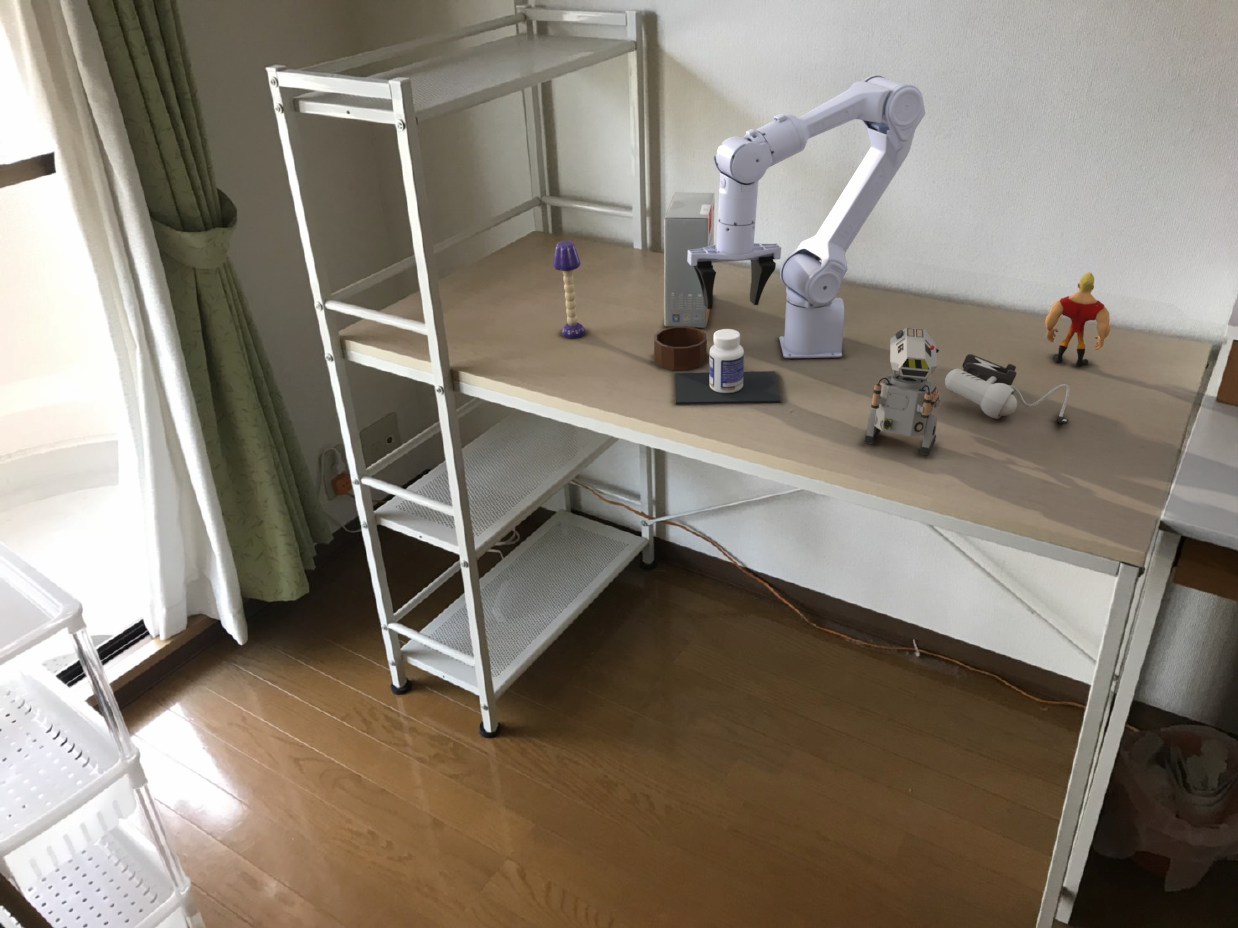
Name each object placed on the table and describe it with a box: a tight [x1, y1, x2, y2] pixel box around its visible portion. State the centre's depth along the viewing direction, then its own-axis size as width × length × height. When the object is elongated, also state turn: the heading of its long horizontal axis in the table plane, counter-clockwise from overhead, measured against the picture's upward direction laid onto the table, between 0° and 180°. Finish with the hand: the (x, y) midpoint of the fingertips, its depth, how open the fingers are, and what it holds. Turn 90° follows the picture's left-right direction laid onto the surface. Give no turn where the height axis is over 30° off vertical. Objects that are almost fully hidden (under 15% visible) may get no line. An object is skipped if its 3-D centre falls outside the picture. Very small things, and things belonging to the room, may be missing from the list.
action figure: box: [1044, 272, 1111, 368], centre depth 155 cm, size 10×4×15 cm, turn 59°
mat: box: [674, 370, 782, 405], centre depth 155 cm, size 16×10×1 cm, turn 88°
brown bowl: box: [653, 326, 708, 371], centre depth 164 cm, size 9×9×4 cm
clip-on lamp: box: [944, 353, 1071, 425], centre depth 145 cm, size 12×6×18 cm
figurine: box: [863, 327, 942, 456], centre depth 137 cm, size 9×12×15 cm
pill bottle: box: [708, 328, 745, 393], centre depth 153 cm, size 5×5×9 cm
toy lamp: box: [552, 240, 586, 339], centre depth 171 cm, size 5×5×17 cm
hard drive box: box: [663, 191, 716, 329], centre depth 177 cm, size 16×8×20 cm, turn 171°
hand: (731, 304), depth 157 cm, fingers open, 7 cm apart
